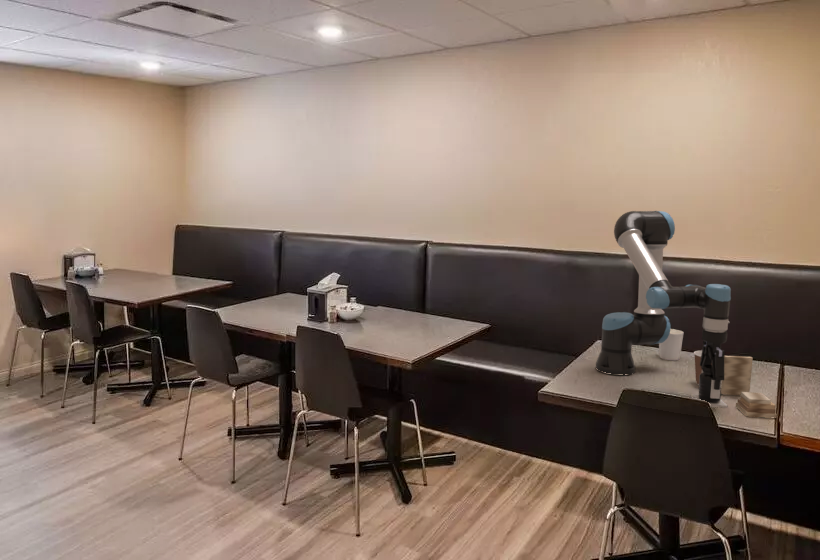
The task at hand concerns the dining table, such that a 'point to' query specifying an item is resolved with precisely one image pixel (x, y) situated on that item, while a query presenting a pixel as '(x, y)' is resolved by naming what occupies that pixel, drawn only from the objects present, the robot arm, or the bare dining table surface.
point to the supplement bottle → (706, 385)
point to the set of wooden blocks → (745, 388)
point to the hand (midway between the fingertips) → (709, 392)
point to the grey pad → (718, 404)
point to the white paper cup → (671, 346)
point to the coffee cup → (698, 365)
